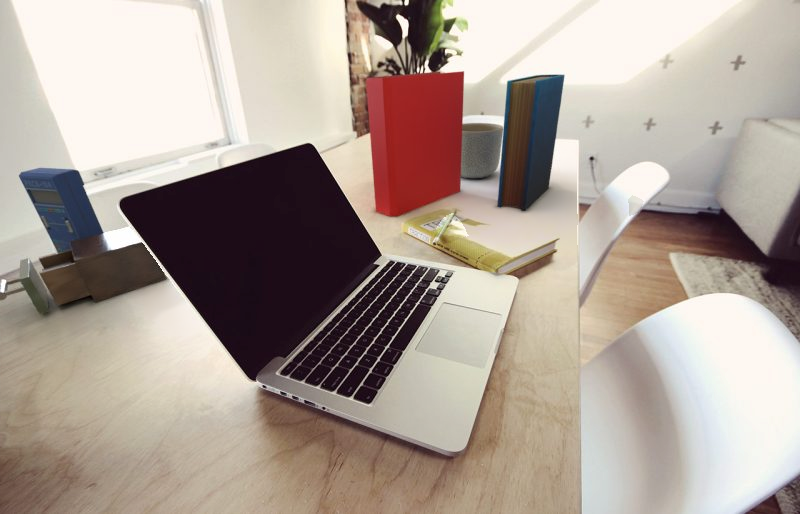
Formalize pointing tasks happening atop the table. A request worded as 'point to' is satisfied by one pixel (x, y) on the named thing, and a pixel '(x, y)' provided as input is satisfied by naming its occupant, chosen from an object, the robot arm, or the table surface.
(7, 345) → the table surface
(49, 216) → the electronic device
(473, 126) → the planter
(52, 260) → the drawer
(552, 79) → the book
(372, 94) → the book
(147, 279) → the cabinet
